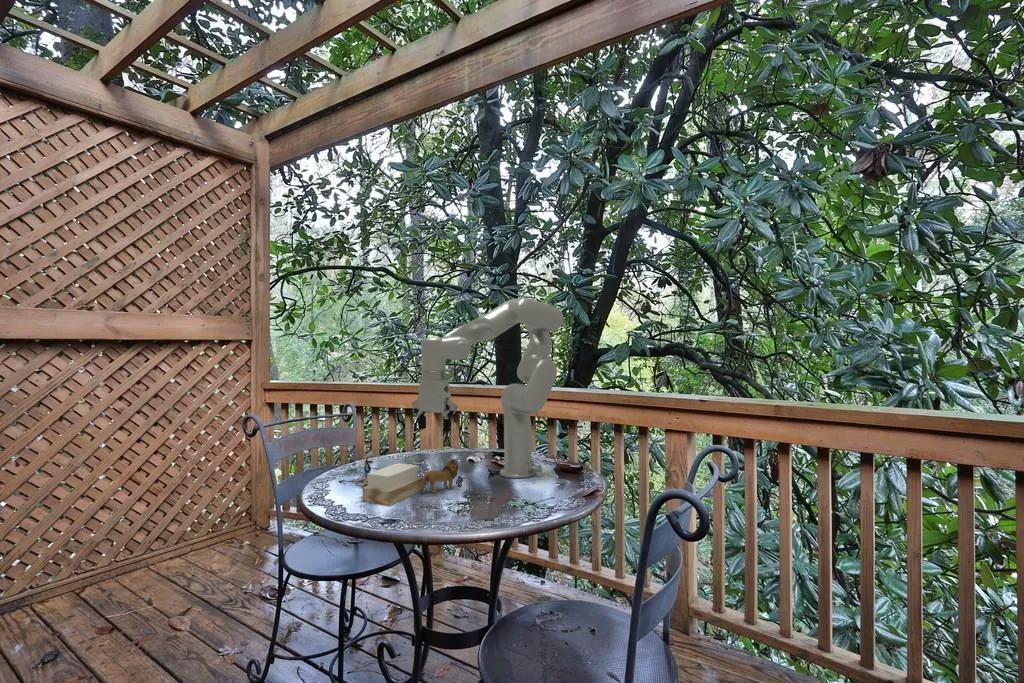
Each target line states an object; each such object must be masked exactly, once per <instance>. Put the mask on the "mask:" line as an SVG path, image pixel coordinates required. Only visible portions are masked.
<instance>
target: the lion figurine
mask: <svg viewBox="0 0 1024 683" xmlns="http://www.w3.org/2000/svg"><path fill="white" fill-rule="evenodd" d="M446 462H447V464H446V465H445V466H444V468H442V469H439V470H433V469H432V470H428V471H427V472H426V473H425V474H424V476H423V477H422V478H423V482H422V486H421V492H419V494H420V495H421V494H423V493H426V489H424V488H425V487H426V486H427V485H428V484H429V489H430V491H431V492H432V493H433V494H437V493H438V491H437V490H435V489H434V488H435V484H436V482H437V483H443V488H444V489H448V488H449V490H450V491H451V490H454V488H455V487H453V480H454V479H456V477H457V476H458V473H459V468H460V465H459V462H458V460H457V459H455V458H451V459H448V460H447V461H446Z"/></svg>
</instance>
